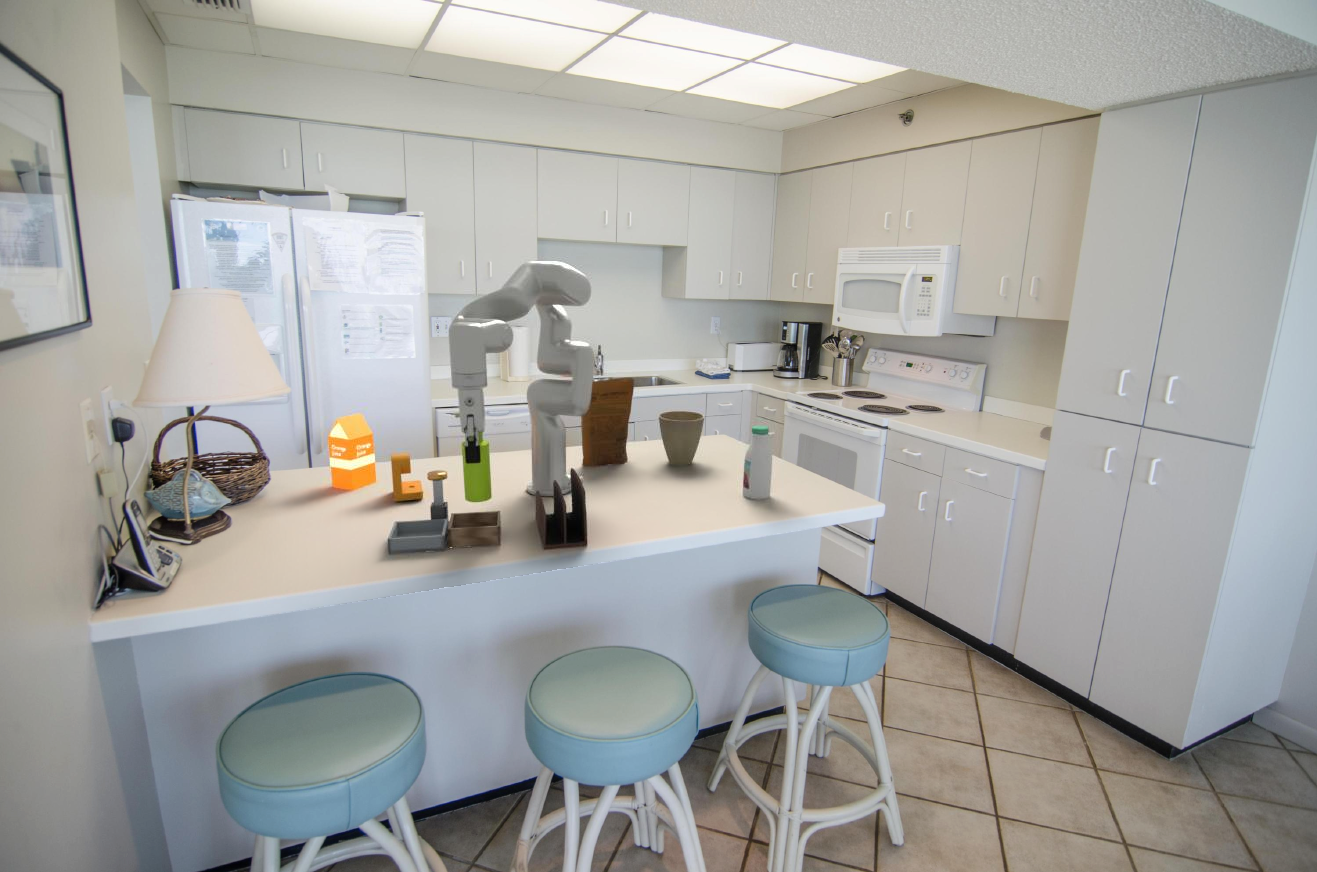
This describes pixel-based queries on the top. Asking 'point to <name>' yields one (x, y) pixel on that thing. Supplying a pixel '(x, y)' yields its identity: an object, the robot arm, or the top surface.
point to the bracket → (408, 488)
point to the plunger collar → (439, 512)
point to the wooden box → (474, 529)
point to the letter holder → (563, 517)
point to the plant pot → (681, 435)
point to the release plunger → (437, 486)
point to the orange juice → (351, 453)
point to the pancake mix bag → (607, 422)
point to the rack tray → (418, 536)
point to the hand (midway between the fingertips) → (473, 457)
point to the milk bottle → (758, 465)
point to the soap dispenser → (477, 473)
